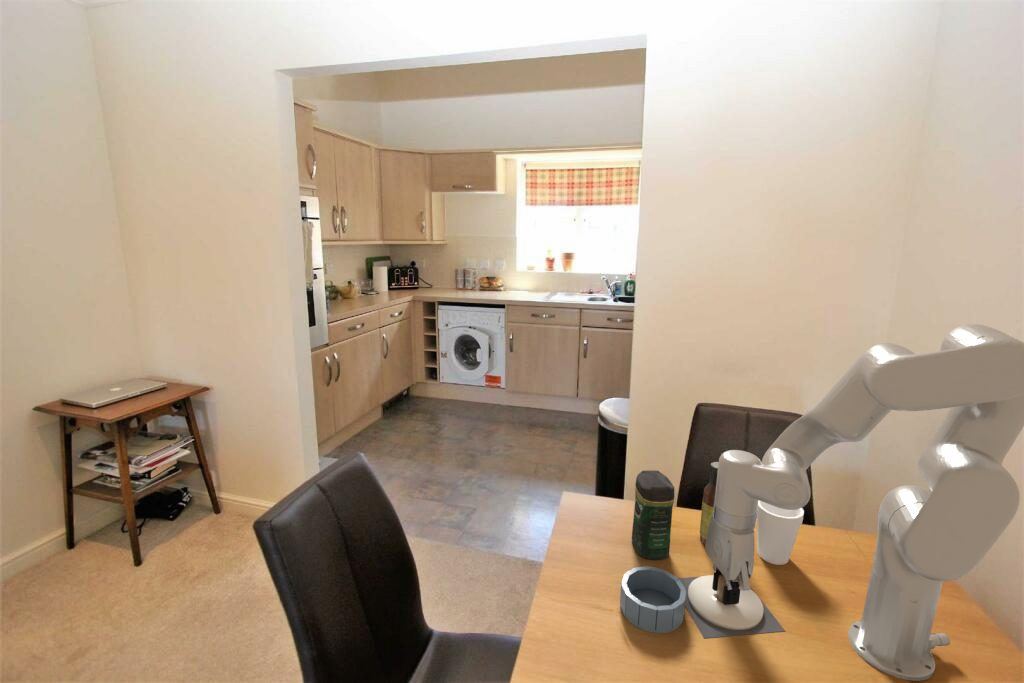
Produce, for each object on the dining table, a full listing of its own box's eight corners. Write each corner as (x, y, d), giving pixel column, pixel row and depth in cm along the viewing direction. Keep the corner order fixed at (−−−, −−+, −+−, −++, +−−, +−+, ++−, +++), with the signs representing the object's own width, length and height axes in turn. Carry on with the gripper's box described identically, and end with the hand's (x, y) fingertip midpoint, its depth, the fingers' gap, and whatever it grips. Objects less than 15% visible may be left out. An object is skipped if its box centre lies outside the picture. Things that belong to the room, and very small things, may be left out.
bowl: (668, 587, 108) (670, 564, 106) (694, 631, 96) (696, 607, 95) (613, 591, 106) (614, 568, 105) (632, 637, 95) (634, 612, 94)
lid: (738, 576, 110) (741, 554, 109) (778, 627, 97) (782, 602, 96) (676, 581, 109) (678, 559, 107) (708, 633, 95) (711, 608, 94)
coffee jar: (673, 561, 116) (680, 487, 112) (639, 562, 116) (644, 488, 111) (659, 535, 125) (665, 466, 121) (627, 536, 125) (632, 467, 121)
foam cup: (802, 573, 112) (810, 520, 109) (757, 568, 114) (764, 516, 111) (786, 546, 121) (794, 497, 118) (745, 542, 123) (752, 493, 120)
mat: (739, 575, 112) (739, 573, 111) (785, 632, 96) (785, 630, 96) (669, 580, 110) (669, 578, 110) (704, 639, 94) (704, 638, 94)
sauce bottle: (729, 551, 119) (738, 474, 115) (700, 548, 121) (708, 471, 116) (723, 535, 126) (732, 461, 121) (696, 531, 127) (704, 458, 122)
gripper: (696, 493, 106) (689, 570, 110) (739, 542, 90) (728, 629, 94) (730, 491, 106) (722, 567, 111) (779, 539, 91) (767, 626, 95)
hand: (725, 595), depth 102 cm, fingers closed on lid, 3 cm apart
